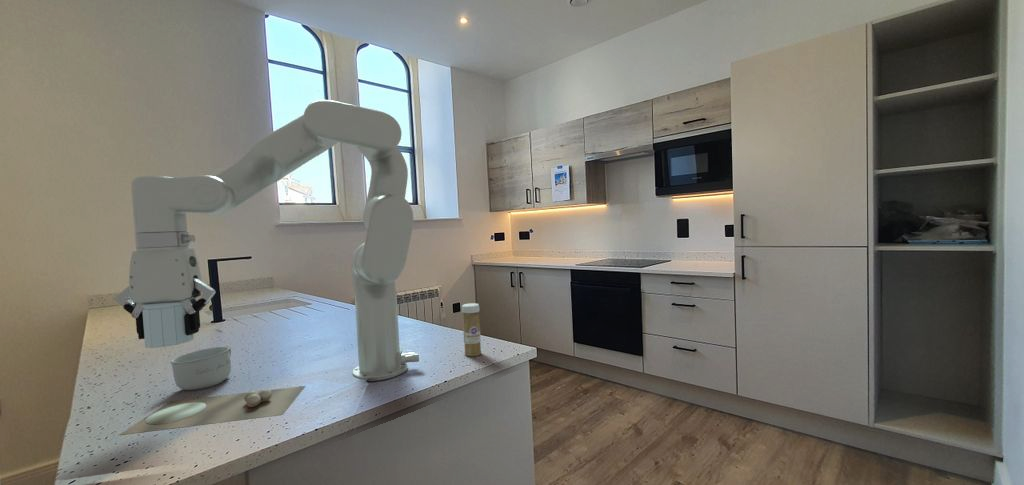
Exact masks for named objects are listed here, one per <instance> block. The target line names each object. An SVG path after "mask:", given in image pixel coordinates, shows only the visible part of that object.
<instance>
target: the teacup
mask: <svg viewBox="0 0 1024 485" xmlns="http://www.w3.org/2000/svg"><path fill="white" fill-rule="evenodd" d="M231 355H232V349H231V347H230V346H229V345H228V344H222V345H219V346H216V347H215V346H214V347H207V348H203V349H198V350H193V351H190V352H188V353H187V352H186V353H184V354H181V355H178V356H176V357H174V358H172V359H171V360H170V364H171V367H172V373H173V374H172V375H173V379H174V382H175V386H177V388H178V389H181V390H184V391H196V390H197V391H198V390H202V389H206V388H211V387H214V386H217V385H218V384H221V383H223V382H224V381H225V380H226V379H227V378H228V377H229V376H230V374H231V371H232V363H231V362H232V361H231Z"/></svg>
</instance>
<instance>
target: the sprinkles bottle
mask: <svg viewBox="0 0 1024 485" xmlns="http://www.w3.org/2000/svg"><path fill="white" fill-rule="evenodd" d="M461 310H462V311H461V312H462V319H463V324H462V326H463V327H462V328H463V330H462V331H463V343H464V355H465V356H466V357H477V356H480V355H481V354H482V351H481V350H482V346H481V323H480V311H481V310H480V305H479V303H473V302H472V303H465V304H462V306H461Z"/></svg>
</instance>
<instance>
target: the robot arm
mask: <svg viewBox="0 0 1024 485" xmlns="http://www.w3.org/2000/svg"><path fill="white" fill-rule="evenodd" d="M401 140H402V127H401V126H400V124H399V122H398V121H397V119H395V117H393V116H392V115H390V114H388V113H387V112H384V111H381V110H376V109H371V108H367V107H362V106H359V105H355V104H354V105H353V104H350V103H347V102H346V103H345V102H341V101H336V100H331V99H319V100H315V101H313V102H311V103H309V104H308V105H307V106H306V108H305V109H304V112H303V114H302V115H301V116H299V117H297V118H295V119H293V120H291V121H290V122H288V123H287V124H285V125H283V126H281V127H279V128H277V129H276V130H274V131H273V132H270V133H268V134H267V135H265V136H263V137H261V138H260V139H259V140H256V142H254V144H253V145H252V146H251V148H249V149H248V151H247V152H246V154H244V155H243V157H241V158H240V159H239V160H238V161H237V162H235V163H234V164H232V165H231V166H229V167H228V168H226V169H225V170H222V171H221V172H219V173H217V174H216V175H214V176H213V175H209V174H207V175H206V174H205V175H204V174H201V175H200V174H199V175H189V176H177V177H176V176H175V177H173V176H166V175H140V176H136V177H135V178H133V179H132V180H131V183H130V184H131V185H130V189H131V201H132V202H131V204H132V215H133V216H132V217H133V225H134V226H133V227H134V229H133V230H134V238H135V239H134V240H135V250H134V251H132V253H131V257H130V262H129V270H128V271H129V273H128V286H127V287H126V288H125V289H123V291H121V292H120V293H118V294H117V295H116V296H115V297H114V301H116V302H117V303H118V304H119V305H120V306H121V307H123V310H124V311H126V312H128V313H129V314H130V316H131V318H133V319H135V326H136V328H135V329H136V333H137V335H138V336H137V337H138V340H145V338H144V325H143V312H142V304H150V303H165V302H178V301H180V302H182V305H183V307H184V308H185V309H186V311H187V314H186V315H185V316H184V320H185V334H186V335H192V334H193V335H194V334H197V333H198V332H199V331H200V328H201V315H200V312H201V311H202V310H203V309H204V307H206V305H207V304H209V301H210V300H212V298H213V297H214V296H215V294H216V293H217V292H216V290H215V289H214V288H213V287H211V286H210V285H208V284H206V283H205V282H203V279H202V272H201V268H200V264H199V261H198V256H197V254H196V251H195V248H193V247H192V248H190V247H189V246H190V243H194V242H196V236H195V235H194V234H192V235H191V234H189V233H190V232H188V224H187V223H188V220H187V213H193V214H200V215H206V216H211V217H217V216H223V215H225V214H227V213H229V212H230V211H232V210H234V209H236V208H237V207H239V206H241V205H242V204H244V203H245V202H246V201H248V200H251V198H253V197H254V196H256V195H258V194H259V193H261V192H262V191H264V190H265V189H267V188H269V187H270V186H272V185H274V184H276V183H277V182H279V181H281V180H282V179H283V178H285V177H286V176H288V175H289V174H291V173H292V172H294V171H296V170H297V169H298V168H300V167H302V166H303V165H305V164H306V163H308V162H310V161H312V160H313V159H315V158H316V157H318V156H320V155H321V154H323V153H325V152H326V151H328V150H329V149H331V148H333V147H334V146H336V145H337V144H338V143H341V144H347V145H351V146H356V148H357V150H358V151H359V152H360V154H362V155H363V157H365V159H366V160H367V161H368V163H369V166H370V169H371V171H370V172H371V175H370V182H369V187H368V193H367V197H366V201H365V205H364V210H363V213H362V220H363V221H362V222H363V225H364V227H365V228H366V234H365V241H364V242H363V243H361V244H360V245H358V247H356V249H354V251H353V253H352V256H351V260H350V271H351V277H352V284H353V296H354V307H355V310H354V311H355V323H356V324H355V326H356V339H357V340H356V342H357V356H358V366H355V367H354V368H353V369H352V372H351V374H352V376H353V377H354V378H357V379H361V380H362V379H364V380H366V382H377V381H384V380H388V379H391V378H395V377H398V376H400V375H401V374H403V373H404V372H406V371H407V370H408V363H420V353H415V352H403V348H402V347H400V336H399V335H400V332H399V319H398V318H399V317H398V316H399V314H398V297H397V288H396V282H395V281H396V280H397V279H398V278H400V277H401V275H402V273H403V271H404V269H405V267H406V264H407V263H406V262H407V258H408V253H409V248H410V243H411V238H412V233H413V227H414V211H413V208H412V206H411V204H410V203H409V201H408V200H407V199H406V194H407V193H406V192H407V186H408V178H409V177H408V176H409V171H408V169H409V168H408V165H407V162H406V160H405V157H404V156H403V153H402V152H401V150H400V148H399V147H398V145H399V144H400V142H401ZM199 297H200V298H199ZM197 298H199V299H197Z"/></svg>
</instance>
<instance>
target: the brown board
mask: <svg viewBox="0 0 1024 485" xmlns="http://www.w3.org/2000/svg"><path fill="white" fill-rule="evenodd" d="M305 387H306V385H302V386H293V387H286V388H285V387H283V388H274V389H268V388H264V389H262V390H249V391H246V392H239V393H229V394H222V395H214V396H205V397H198V398H195V397H194V398H187V399H178V400H170V401H168V402H167V403H165V404H164V405H163V406H161V407H159V408H158V409H156V410H155V411H153V412H152V413H150V414H149V415H147V416H145V417H144V418H143V419H141V420H139V421H138V422H137V423H135V424H134V425H132V426H130V427H129V428H127V429H126V430H124V431H123V432H122V433H120V434H119V436H124V435H125V436H126V435H132V434H140V433H147V432H148V433H149V432H156V431H165V430H172V429H179V428H180V429H181V428H188V427H197V426H204V425H212V424H218V423H227V422H229V423H230V422H235V421H244V420H252V419H260V418H269V417H276V416H282V415H284V414H285V413H286V411H287V410H288V409H289V408H290V406H291V405H292V404H293V403H294V401H296V399H297V398H298V396H300V394H301V393H302V392H303V390H305Z"/></svg>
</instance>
